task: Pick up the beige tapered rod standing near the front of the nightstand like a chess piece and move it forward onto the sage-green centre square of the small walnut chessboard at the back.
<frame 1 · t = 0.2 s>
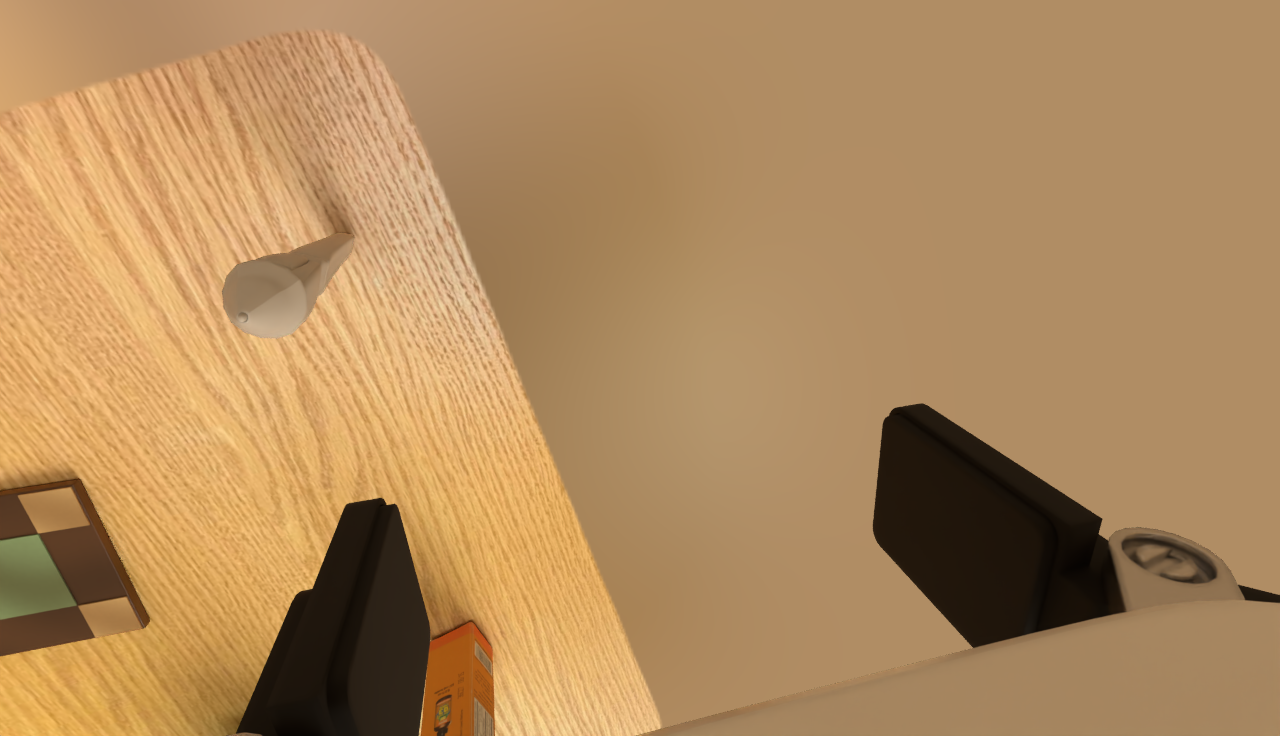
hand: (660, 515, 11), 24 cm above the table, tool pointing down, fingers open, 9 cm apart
beige tapered rod: (346, 239, 31), on the table
supplement box: (463, 642, 42), on the table
board: (15, 571, 33), on the table
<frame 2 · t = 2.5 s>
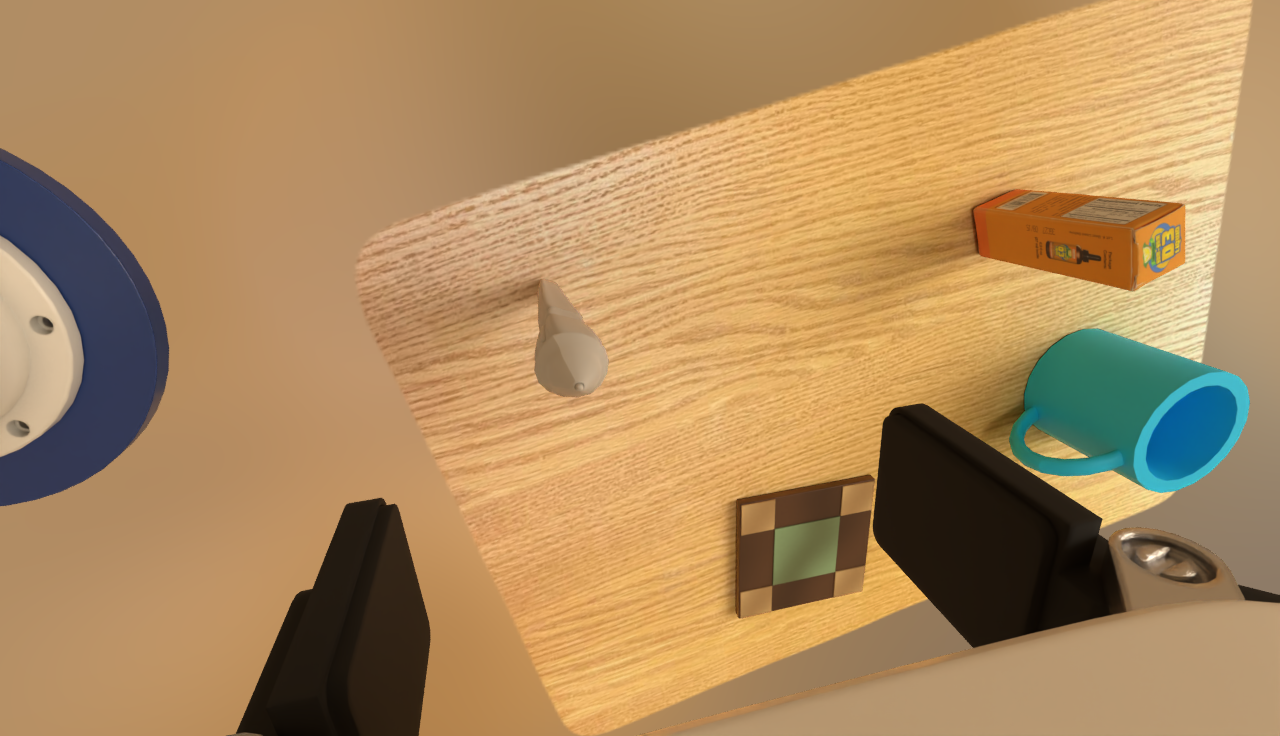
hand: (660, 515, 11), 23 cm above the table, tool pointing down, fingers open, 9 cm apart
mug: (1048, 393, 44), on the table
beige tapered rod: (545, 285, 33), on the table
supplement box: (995, 220, 37), on the table
board: (801, 545, 44), on the table
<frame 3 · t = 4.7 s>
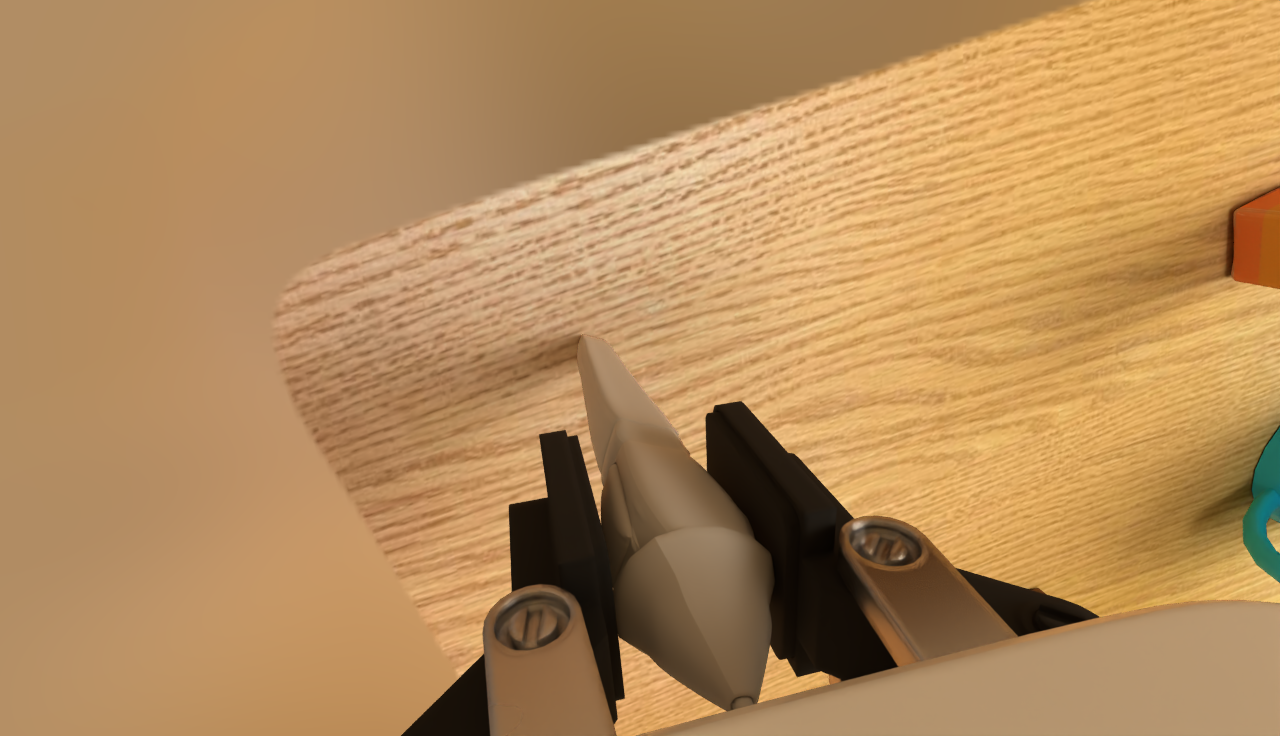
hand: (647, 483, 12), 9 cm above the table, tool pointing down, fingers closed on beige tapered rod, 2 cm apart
beige tapered rod: (587, 343, 20), on the table, touching gripper
supplement box: (1257, 226, 25), on the table
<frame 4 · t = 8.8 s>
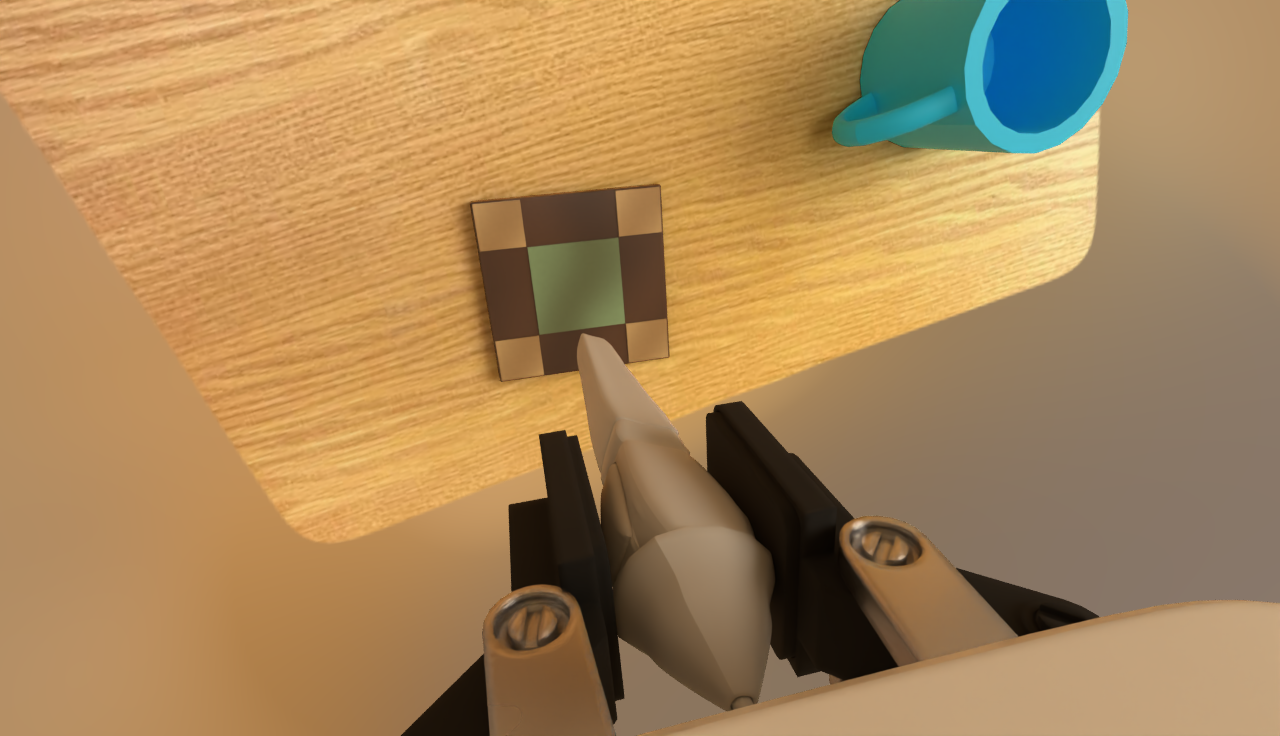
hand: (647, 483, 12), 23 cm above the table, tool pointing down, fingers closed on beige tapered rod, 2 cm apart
mug: (894, 86, 34), on the table
beige tapered rod: (587, 342, 20), point 14 cm above the table, touching gripper
board: (576, 284, 34), on the table
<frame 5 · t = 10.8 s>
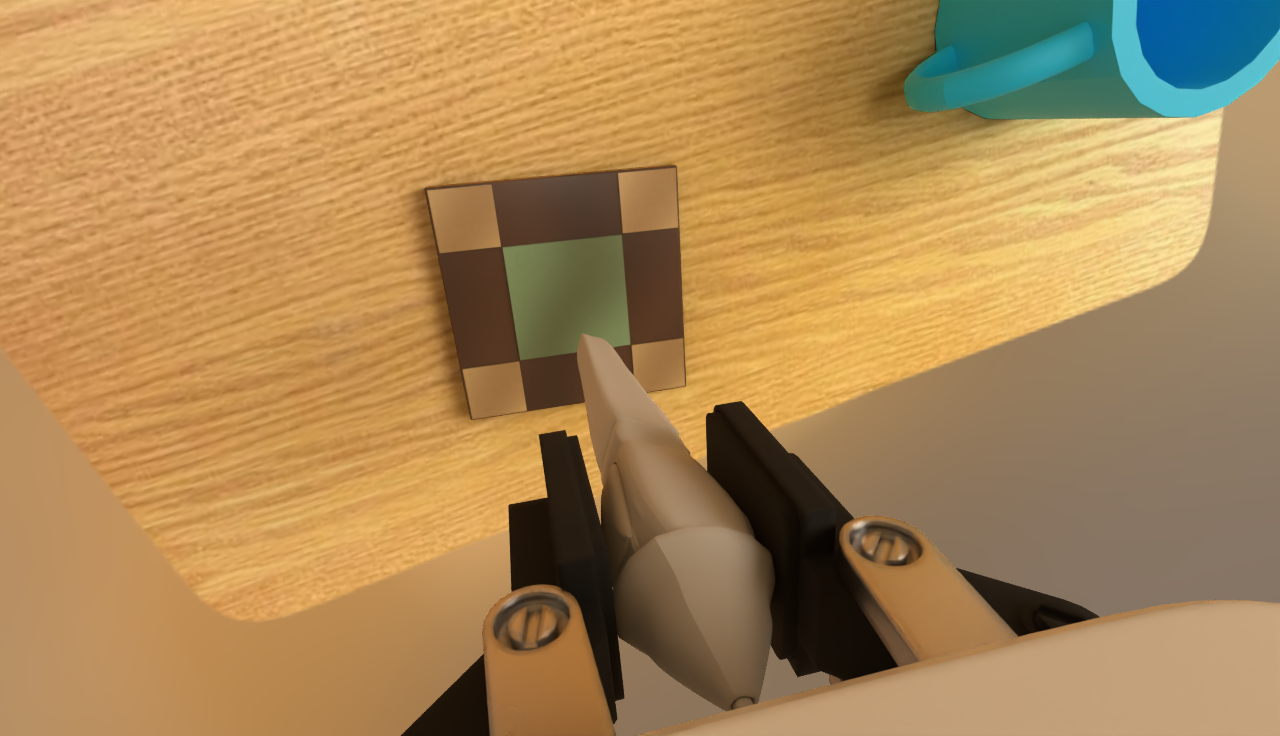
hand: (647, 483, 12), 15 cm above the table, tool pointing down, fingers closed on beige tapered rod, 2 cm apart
mug: (977, 39, 26), on the table
beige tapered rod: (587, 343, 20), point 7 cm above the table, touching gripper
board: (568, 294, 26), on the table
when the fingers open (9 cm above the table, at t = 12.8 s): beige tapered rod stays where it is, resting on board.
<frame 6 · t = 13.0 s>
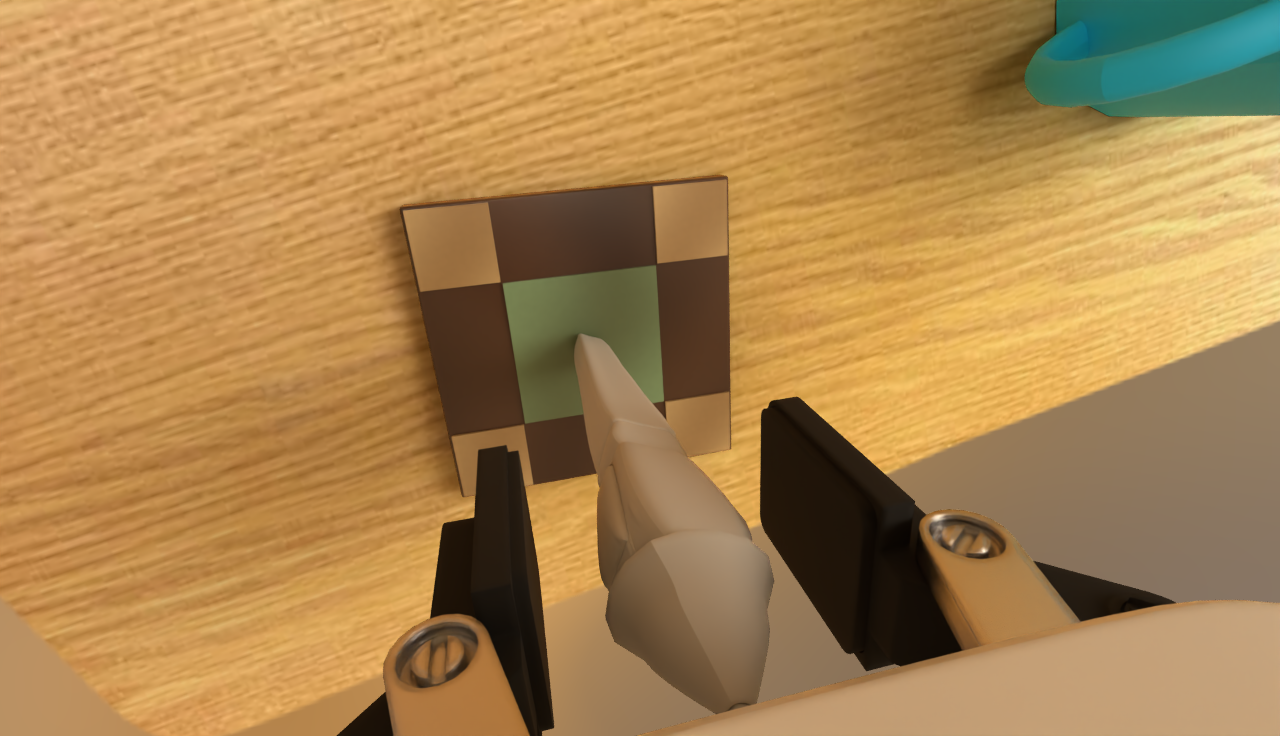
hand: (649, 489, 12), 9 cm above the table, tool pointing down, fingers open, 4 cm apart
mug: (1106, 15, 21), on the table
beige tapered rod: (584, 342, 20), point 1 cm above the table, touching board
board: (585, 339, 21), on the table
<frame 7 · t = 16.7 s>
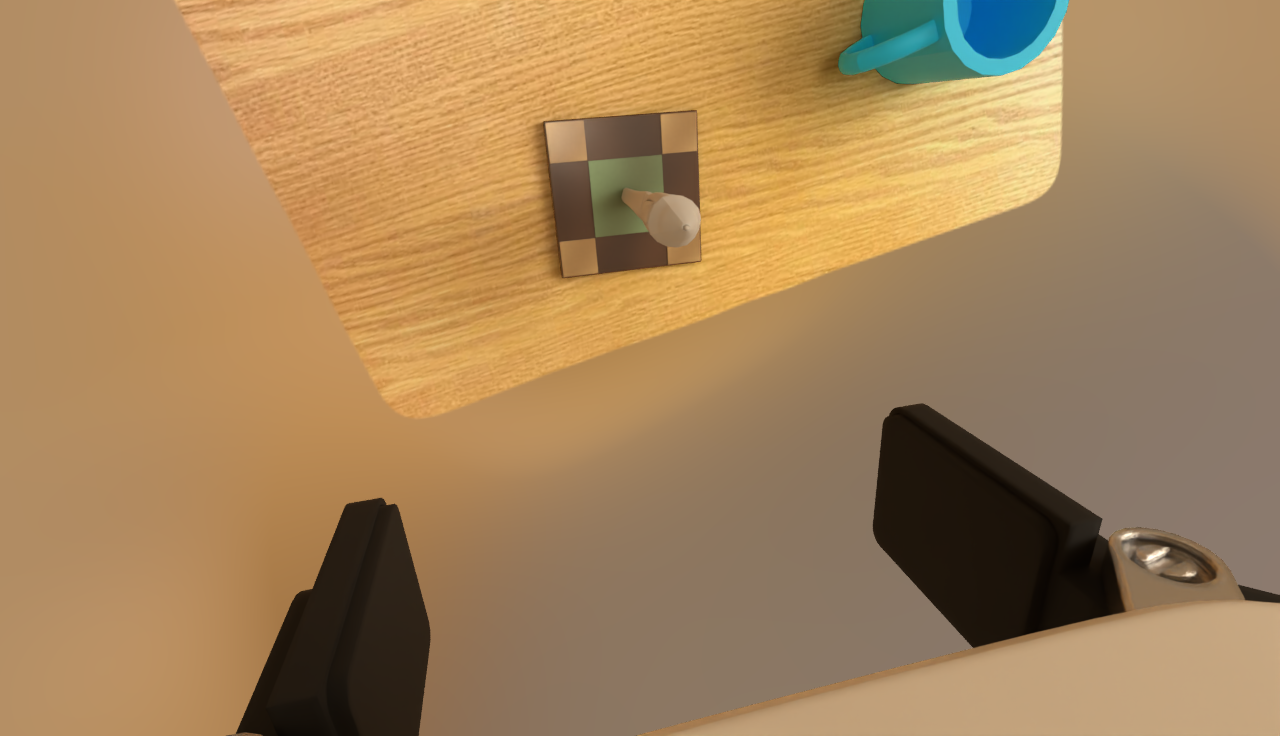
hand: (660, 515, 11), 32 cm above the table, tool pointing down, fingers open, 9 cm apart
mug: (889, 31, 41), on the table
beige tapered rod: (626, 195, 40), point 1 cm above the table, touching board
board: (626, 195, 41), on the table
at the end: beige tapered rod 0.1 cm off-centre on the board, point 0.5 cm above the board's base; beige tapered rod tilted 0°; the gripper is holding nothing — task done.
